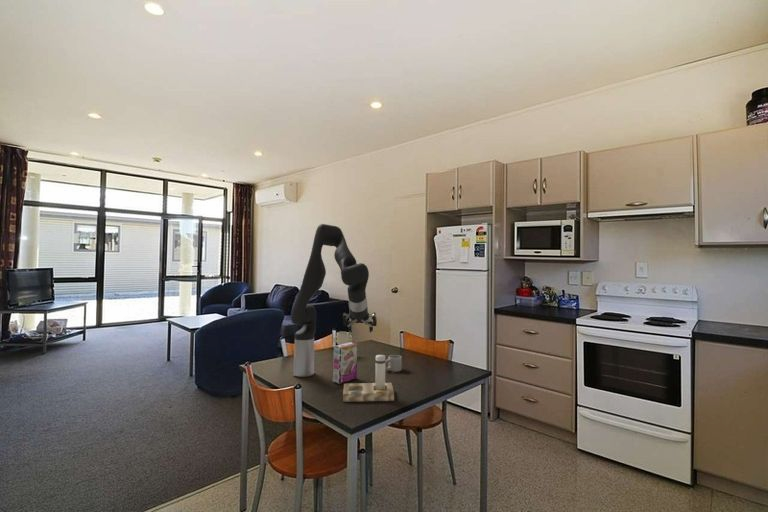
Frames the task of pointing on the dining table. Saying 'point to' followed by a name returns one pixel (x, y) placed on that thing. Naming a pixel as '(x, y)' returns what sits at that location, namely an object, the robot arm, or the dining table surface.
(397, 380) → the dining table surface
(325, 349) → the dining table surface
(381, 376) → the white tall cylinder
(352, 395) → the socket board
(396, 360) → the mug
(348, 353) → the candy bar box
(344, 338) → the character mug
